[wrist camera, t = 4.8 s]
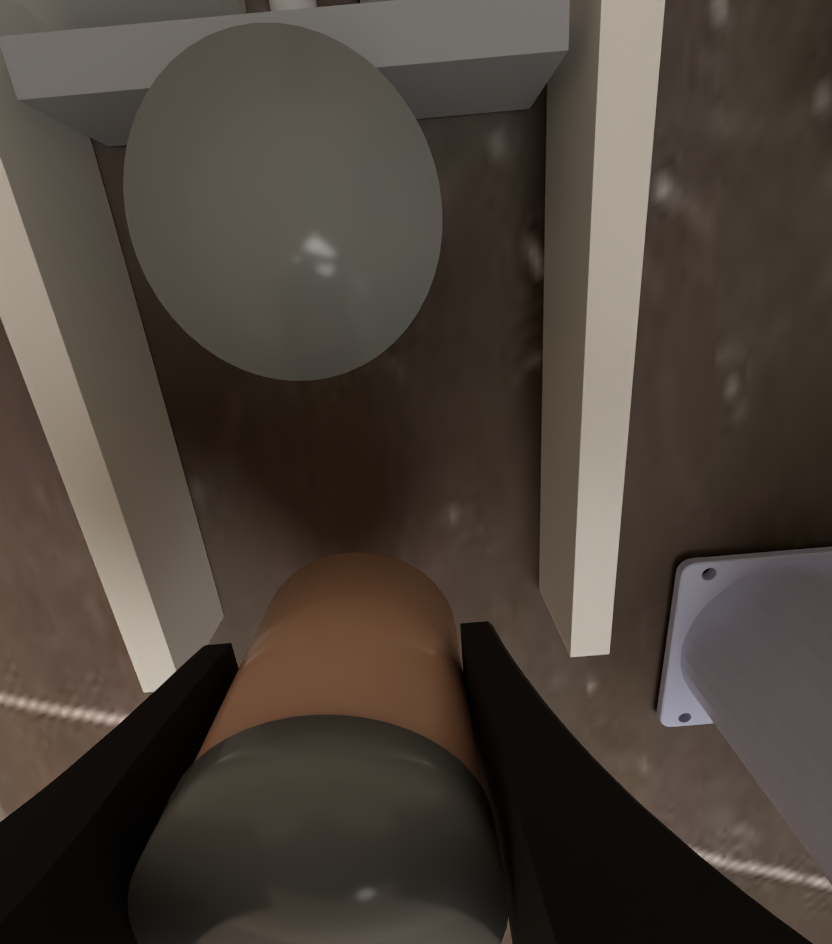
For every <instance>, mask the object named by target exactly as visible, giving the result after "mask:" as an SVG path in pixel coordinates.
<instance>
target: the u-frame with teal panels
mask: <svg viewBox="0 0 832 944" xmlns="http://www.w3.org/2000/svg"><path fill="white" fill-rule="evenodd" d="M380 1H391V0H360V3H369V2H380ZM664 8H665V0H570V12H569V47H568V52H567V53H566V55H565V56H564V58H563V59H562V61H561V62H560V64H559V65H558V67H557V68H556V70H555V71H554V73H553V74H552V76H551V77H550V79H549V80H548V82H547V116H546V179H545V242H544V305H543V368H542V431H541V494H540V557H539V591H540V593H541V595H542V597H543V600H544V602H545V604H546V606H547V608H548V610H549V612H550V615H551V617H552V619H553V621H554V623H555V625H556V628H557V630H558V632H559V634H560V636H561V638H562V640H563V643H564V645H565V647H566V649H567V651H568V653H569V656H570V657H580V656H592V655H604V654H609V652H610V641H611V629H612V617H613V605H614V594H615V582H616V570H617V559H618V547H619V535H620V523H621V512H622V500H623V488H624V477H625V465H626V453H627V441H628V430H629V418H630V406H631V394H632V383H633V371H634V359H635V348H636V336H637V324H638V312H639V301H640V289H641V277H642V266H643V254H644V242H645V230H646V219H647V207H648V195H649V184H650V172H651V160H652V148H653V137H654V125H655V113H656V102H657V90H658V78H659V66H660V55H661V43H662V31H663V20H664ZM237 14H247V12H246V6H245V0H0V36H6V35H17V34H28V33H39V32H50V31H61V30H72V29H83V28H94V27H105V26H116V25H127V24H138V23H149V22H160V21H171V20H182V19H193V18H204V17H215V16H226V15H237ZM0 317H1V320H2V323H3V325H4V328H5V331H6V333H7V336H8V338H9V341H10V344H11V346H12V349H13V351H14V354H15V357H16V359H17V362H18V365H19V367H20V370H21V372H22V375H23V378H24V380H25V383H26V386H27V388H28V391H29V393H30V396H31V399H32V401H33V404H34V406H35V409H36V412H37V414H38V417H39V420H40V422H41V425H42V427H43V430H44V433H45V435H46V438H47V440H48V443H49V446H50V448H51V451H52V454H53V456H54V459H55V461H56V464H57V467H58V469H59V472H60V475H61V477H62V480H63V482H64V485H65V488H66V490H67V493H68V495H69V498H70V501H71V503H72V506H73V509H74V511H75V514H76V516H77V519H78V522H79V524H80V527H81V530H82V532H83V535H84V537H85V540H86V543H87V545H88V548H89V550H90V553H91V556H92V558H93V561H94V564H95V566H96V569H97V571H98V574H99V577H100V579H101V582H102V584H103V587H104V590H105V592H106V595H107V598H108V600H109V603H110V605H111V608H112V611H113V613H114V616H115V619H116V621H117V624H118V626H119V629H120V632H121V634H122V637H123V639H124V642H125V645H126V647H127V650H128V653H129V655H130V658H131V660H132V663H133V666H134V668H135V671H136V674H137V676H138V679H139V681H140V684H141V687H142V689H143V692H144V693H145V692H154V691H156V690H157V689H158V688H159V687H160V686H161V685H162V684H163V683H164V682H165V681H166V680H167V679H168V678H169V677H170V676H171V675H172V674H174V673H175V672H176V671H177V670H178V669H179V668H180V667H181V666H182V665H183V664H184V663H185V662H186V661H187V660H188V659H190V658H191V657H192V656H193V655H194V654H195V653H196V652H197V651H198V650H200V649H201V648H202V647H203V646H204V645H208V643H209V642H210V640H211V638H212V636H213V635H214V633H215V631H216V629H217V627H218V626H219V624H220V622H221V620H222V619H223V617H224V614H223V611H222V607H221V604H220V600H219V597H218V593H217V589H216V586H215V582H214V579H213V575H212V571H211V568H210V564H209V561H208V557H207V554H206V550H205V546H204V543H203V539H202V536H201V532H200V529H199V525H198V521H197V518H196V514H195V511H194V507H193V503H192V500H191V496H190V493H189V489H188V486H187V482H186V478H185V475H184V471H183V468H182V464H181V461H180V457H179V453H178V450H177V446H176V443H175V439H174V435H173V432H172V428H171V425H170V421H169V418H168V414H167V410H166V407H165V403H164V400H163V396H162V392H161V389H160V385H159V382H158V378H157V375H156V371H155V367H154V364H153V360H152V357H151V353H150V350H149V346H148V342H147V339H146V335H145V332H144V328H143V324H142V321H141V317H140V314H139V310H138V307H137V303H136V299H135V296H134V292H133V289H132V285H131V281H130V278H129V274H128V271H127V267H126V264H125V260H124V256H123V253H122V249H121V246H120V242H119V239H118V235H117V231H116V228H115V224H114V221H113V217H112V213H111V210H110V206H109V203H108V199H107V196H106V192H105V188H104V185H103V181H102V178H101V174H100V170H99V167H98V163H97V160H96V156H95V153H94V149H93V145H92V142H91V138H90V137H88V136H86V135H84V134H83V133H81V132H79V131H77V130H75V129H73V128H71V127H69V126H67V125H65V124H63V123H61V122H59V121H57V120H55V119H53V118H51V117H50V116H48V115H46V114H44V113H42V112H40V111H38V110H36V109H34V108H32V107H30V106H28V105H26V104H24V103H22V102H20V101H18V100H17V97H16V94H15V91H14V88H13V85H12V81H11V78H10V75H9V72H8V69H7V66H6V63H5V59H4V56H3V53H2V50H1V47H0Z"/></svg>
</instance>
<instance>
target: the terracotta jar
mask: <svg viewBox="0 0 832 944" xmlns="http://www.w3.org/2000/svg"><path fill="white" fill-rule="evenodd" d="M127 901H128V916H129V920H130V924H131V928H132V932H133V934H134V936H135V938H136V940H137V943H138V944H501V942H502V939H503V936H504V933H505V930H506V927H507V921H508V914H509V903H508V892H507V886H506V881H505V875H504V870H503V864H502V859H501V853H500V848H499V842H498V837H497V831H496V826H495V820H494V816H493V812H492V808H491V805H490V802H489V800H488V798H487V796H486V794H485V791H484V789H483V787H482V782H481V776H480V770H479V764H478V758H477V752H476V746H475V740H474V734H473V728H472V722H471V716H470V710H469V704H468V698H467V692H466V687H465V681H464V675H463V669H462V663H461V657H460V651H459V645H458V639H457V633H456V627H455V622H454V618H453V614H452V611H451V608H450V606H449V603H448V601H447V600H446V598H445V596H444V595H443V593H442V592H441V590H440V589H439V588H438V587H437V586H436V584H435V583H434V582H433V581H432V580H431V579H429V578H428V577H427V576H426V575H425V574H424V573H422V572H421V571H419V570H418V569H417V568H415V567H413V566H411V565H409V564H407V563H406V562H403V561H401V560H398V559H395V558H393V557H389V556H385V555H381V554H375V553H368V552H350V553H340V554H335V555H331V556H327V557H324V558H321V559H318V560H316V561H313V562H311V563H309V564H308V565H306V566H304V567H302V568H301V569H299V570H298V571H296V572H295V573H293V574H292V575H291V576H290V577H289V578H288V579H287V580H286V581H285V582H284V583H283V584H282V585H281V587H280V588H279V589H278V590H277V592H276V593H275V595H274V597H273V598H272V600H271V602H270V604H269V606H268V608H267V611H266V613H265V615H264V617H263V619H262V621H261V623H260V625H259V627H258V629H257V632H256V634H255V636H254V638H253V640H252V642H251V644H250V646H249V648H248V650H247V653H246V655H245V657H244V659H243V661H242V663H241V665H240V667H239V669H238V671H237V674H236V676H235V678H234V680H233V682H232V684H231V686H230V688H229V690H228V692H227V695H226V697H225V699H224V701H223V703H222V705H221V707H220V709H219V711H218V713H217V716H216V718H215V720H214V722H213V724H212V726H211V728H210V730H209V732H208V734H207V736H206V739H205V741H204V743H203V745H202V747H201V749H200V751H199V753H198V755H197V757H196V760H195V762H194V763H193V764H192V765H191V766H190V767H189V769H188V770H187V771H186V772H185V773H184V774H183V775H182V777H181V779H180V780H179V782H178V784H177V785H176V787H175V788H174V790H173V792H172V794H171V796H170V798H169V800H168V802H167V804H166V806H165V808H164V810H163V812H162V814H161V816H160V818H159V820H158V823H157V825H156V827H155V829H154V831H153V833H152V835H151V837H150V839H149V841H148V843H147V845H146V847H145V849H144V851H143V853H142V855H141V857H140V859H139V861H138V863H137V865H136V868H135V870H134V873H133V876H132V878H131V881H130V885H129V892H128V898H127Z"/></svg>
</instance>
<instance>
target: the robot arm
mask: <svg viewBox="0 0 832 944" xmlns="http://www.w3.org/2000/svg"><path fill="white" fill-rule="evenodd" d="M708 568H709V570H708V571H707V572H706V573H704V574H702V573H703V571H705V570H706V569H708ZM460 625H461V642H462V660H463V675H464V681H465V687H466V692H467V698H468V704H469V710H470V716H471V722H472V728H473V734H474V740H475V746H476V752H477V758H478V764H479V770H480V776H481V782H482V787H483V789H484V791H485V794H486V796H487V798H488V800H489V802H490V805H491V808H492V812H493V816H494V820H495V826H496V831H497V837H498V842H499V848H500V853H501V859H502V864H503V870H504V875H505V881H506V886H507V892H508V903H509V914H508V917H509V923H510V930H511V936H512V942H513V944H812V943H811V942H810V941H808V940H807V939H806V938H804V937H803V936H802V935H800V934H799V933H798V932H796V931H795V930H793V929H792V928H791V927H789V926H788V925H787V924H785V923H784V922H783V921H781V920H780V919H779V918H777V917H776V916H775V915H773V914H772V913H771V912H769V911H768V910H767V909H765V908H764V907H763V906H761V905H760V904H759V903H758V902H756V901H755V900H754V899H752V898H751V897H750V896H748V895H747V894H746V893H745V892H743V891H742V890H741V889H740V888H738V887H737V886H736V885H735V884H733V883H732V882H731V881H730V880H729V879H727V878H726V877H725V876H724V875H722V874H721V873H720V872H719V871H717V870H716V869H715V868H714V867H713V866H711V865H710V864H709V863H708V862H706V861H705V860H704V859H703V858H701V857H700V856H699V855H698V854H697V853H696V852H694V851H693V850H692V849H691V848H690V847H689V846H688V845H686V844H685V843H684V842H683V841H682V840H681V839H680V838H678V837H677V836H676V835H675V834H674V833H673V832H672V831H671V830H669V829H668V828H667V827H666V826H665V825H664V824H663V823H661V822H660V821H659V820H658V819H657V818H656V817H655V816H653V815H652V814H651V813H650V812H649V811H648V810H647V809H645V808H644V807H643V806H642V805H641V804H640V803H639V802H638V801H637V800H636V799H635V798H634V797H633V796H632V795H631V794H630V793H628V792H627V791H626V790H625V789H624V788H623V787H622V786H621V785H620V784H619V783H618V782H617V781H616V780H615V779H614V778H613V777H612V776H611V775H610V774H609V773H608V772H607V771H606V770H605V769H604V768H603V767H602V766H601V765H600V764H599V763H598V762H597V761H596V760H595V759H594V758H593V757H592V756H591V754H590V753H589V752H588V751H587V750H586V749H585V748H584V747H583V746H582V745H581V744H580V743H579V741H578V740H577V739H576V738H575V737H574V736H573V735H572V734H571V733H570V731H569V730H568V729H567V728H566V727H565V725H564V724H563V723H562V722H561V721H560V720H559V718H558V717H557V716H556V715H555V714H554V713H553V711H552V710H551V709H550V708H549V706H548V705H547V704H546V703H545V701H544V700H543V699H542V698H541V696H540V695H539V694H538V692H537V691H536V690H535V688H534V687H533V686H532V685H531V683H530V682H529V681H528V679H527V678H526V677H525V675H524V674H523V673H522V671H521V670H520V668H519V667H518V665H517V664H516V663H515V661H514V660H513V658H512V657H511V655H510V654H509V652H508V651H507V649H506V648H505V646H504V644H503V643H502V641H501V639H500V638H499V636H498V634H497V633H496V631H495V629H494V627H493V625H492V624H490V623H489V622H488V621H486V622H474V623H463V624H460ZM237 671H238V665H237V662H236V658H235V655H234V651H233V648H232V644H231V643H226V644H215V645H204V646H203V647H202V648H201V649H200V650H198V651H197V652H196V653H195V654H194V655H193V656H192V657H191V658H190V659H188V660H187V661H186V662H185V663H184V664H183V665H182V666H181V667H180V668H179V669H178V670H177V671H176V672H175V673H174V674H172V675H171V676H170V677H169V678H168V679H167V680H166V681H165V682H164V683H163V684H162V685H161V686H160V687H159V688H158V689H157V690H156V691H154V692H153V693H152V694H151V695H150V696H149V697H148V698H147V699H146V700H145V701H144V702H143V703H142V704H140V705H139V706H138V707H137V708H136V709H135V710H134V711H133V712H132V713H131V714H130V715H129V716H128V717H126V718H125V719H124V720H123V721H122V722H121V723H120V724H119V725H118V726H117V727H115V728H114V729H113V730H112V731H111V732H110V733H108V734H107V735H106V736H105V737H104V738H103V739H102V740H100V741H99V742H98V743H97V744H96V745H95V746H94V747H92V748H91V749H90V750H89V751H88V752H87V753H85V754H84V755H83V756H82V757H81V758H80V759H79V760H77V761H76V762H75V763H74V764H73V765H72V766H71V767H69V768H68V769H67V770H66V771H65V772H63V773H62V774H61V775H60V776H59V777H57V778H56V779H55V780H54V781H52V782H51V783H50V784H49V785H47V786H46V787H45V788H44V789H42V790H41V791H40V792H39V793H38V794H36V795H35V796H34V797H32V798H31V799H30V800H29V801H27V802H26V803H25V804H23V805H22V806H21V807H19V808H18V809H17V810H16V811H14V812H13V813H12V814H10V815H9V816H8V817H6V818H5V819H4V820H3V821H1V822H0V944H138V943H137V940H136V938H135V936H134V934H133V932H132V928H131V924H130V920H129V916H128V901H127V898H128V892H129V885H130V881H131V878H132V876H133V873H134V870H135V868H136V865H137V863H138V861H139V859H140V857H141V855H142V853H143V851H144V849H145V847H146V845H147V843H148V841H149V839H150V837H151V835H152V833H153V831H154V829H155V827H156V825H157V823H158V820H159V818H160V816H161V814H162V812H163V810H164V808H165V806H166V804H167V802H168V800H169V798H170V796H171V794H172V792H173V790H174V788H175V787H176V785H177V784H178V782H179V780H180V779H181V777H182V775H183V774H184V773H185V772H186V771H187V770H188V769H189V767H190V766H191V765H192V764H193V763H194V762H195V760H196V757H197V755H198V753H199V751H200V749H201V747H202V745H203V743H204V741H205V739H206V736H207V734H208V732H209V730H210V728H211V726H212V724H213V722H214V720H215V718H216V716H217V713H218V711H219V709H220V707H221V705H222V703H223V701H224V699H225V697H226V695H227V692H228V690H229V688H230V686H231V684H232V682H233V680H234V678H235V676H236V674H237ZM657 717H658V719H659V720H660V722H661V723H662V724H663V725H664V726H667V727H675V726H688V725H700V724H712V723H714V724H715V726H716V727H717V728H718V730H719V731H720V732H721V734H722V735H723V737H724V738H725V739H726V741H727V742H728V743H729V745H730V746H731V747H732V749H733V750H734V752H735V753H736V754H737V756H738V757H739V758H740V760H741V761H742V763H743V764H744V765H745V767H746V768H747V769H748V771H749V772H750V773H751V775H752V776H753V778H754V779H755V780H756V782H757V783H758V784H759V786H760V787H761V789H762V790H763V791H764V793H765V794H766V795H767V797H768V798H769V800H770V801H771V802H772V804H773V805H774V806H775V808H776V809H777V810H778V812H779V813H780V815H781V816H782V817H783V819H784V820H785V821H786V823H787V824H788V826H789V827H790V828H791V830H792V831H793V832H794V834H795V835H796V836H797V838H798V839H799V841H800V842H801V843H802V845H803V846H804V847H805V849H806V850H807V852H808V853H809V854H810V856H811V857H812V858H813V860H814V861H815V862H816V864H817V865H818V867H819V868H820V869H821V871H822V872H823V873H824V875H825V876H826V878H827V879H828V880H829V882H830V883H831V884H832V547H820V548H808V549H796V550H784V551H772V552H760V553H749V554H737V555H725V556H713V557H701V558H691V559H687V560H685V561H683V562H681V564H680V565H679V566H678V568H677V570H676V576H675V583H674V591H673V598H672V605H671V612H670V619H669V627H668V634H667V641H666V648H665V655H664V662H663V670H662V677H661V684H660V691H659V698H658V706H657Z"/></svg>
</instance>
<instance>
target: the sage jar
mask: <svg viewBox="0 0 832 944" xmlns="http://www.w3.org/2000/svg"><path fill="white" fill-rule="evenodd" d="M123 194H124V205H125V215H126V219H127V224H128V229H129V234H130V238H131V241H132V244H133V247H134V250H135V253H136V256H137V259H138V261H139V264H140V266H141V268H142V270H143V272H144V274H145V277H146V279H147V281H148V283H149V284H150V286H151V288H152V289H153V291H154V293H155V294H156V296H157V298H158V299H159V301H160V302H161V303H162V305H163V306H164V307H165V309H166V310H167V311H168V313H169V314H170V315H171V317H172V318H173V319H174V320H175V321H176V322H177V323H178V324H179V325H180V326H181V328H182V329H183V330H184V331H185V332H186V333H187V334H188V335H190V336H191V337H192V338H193V339H194V340H195V341H197V342H198V343H199V344H200V345H201V346H202V347H204V348H205V349H207V350H208V351H210V352H211V353H213V354H214V355H216V356H217V357H219V358H220V359H222V360H224V361H226V362H228V363H230V364H232V365H234V366H236V367H237V368H240V369H243V370H245V371H248V372H251V373H253V374H256V375H260V376H264V377H269V378H273V379H280V380H289V381H312V380H318V379H325V378H331V377H334V376H337V375H341V374H344V373H347V372H349V371H352V370H354V369H356V368H358V367H360V366H363V365H365V364H366V363H368V362H369V361H371V360H373V359H374V358H376V357H377V356H379V355H380V354H381V353H383V352H384V351H385V350H386V349H387V348H389V347H390V346H391V345H392V344H393V343H394V342H395V341H396V340H397V339H398V338H399V337H400V336H401V335H402V334H403V332H404V331H405V330H406V329H407V328H408V326H409V325H410V323H411V322H412V321H413V319H414V318H415V316H416V315H417V313H418V312H419V310H420V308H421V306H422V304H423V302H424V300H425V298H426V297H427V294H428V292H429V289H430V286H431V284H432V281H433V278H434V276H435V272H436V268H437V264H438V259H439V255H440V248H441V239H442V201H441V192H440V185H439V180H438V176H437V172H436V167H435V163H434V160H433V157H432V154H431V151H430V149H429V146H428V143H427V140H426V138H425V136H424V134H423V132H422V130H421V128H420V126H419V124H418V122H417V120H416V118H415V116H414V114H413V113H412V111H411V110H410V108H409V107H408V105H407V104H406V102H405V100H404V99H403V97H402V96H401V95H400V93H399V92H398V91H397V90H396V89H395V87H394V86H393V85H392V84H391V83H390V82H389V80H388V79H387V78H386V77H385V76H384V75H383V74H382V73H381V72H380V71H379V70H378V69H377V68H375V67H374V66H373V65H372V64H371V63H370V62H369V61H368V60H367V59H365V58H364V57H363V56H361V55H360V54H358V53H357V52H355V51H354V50H352V49H351V48H350V47H348V46H347V45H345V44H343V43H341V42H339V41H337V40H335V39H333V38H331V37H329V36H327V35H325V34H323V33H320V32H317V31H313V30H310V29H307V28H304V27H301V26H295V25H289V24H283V23H249V24H244V25H238V26H233V27H229V28H226V29H223V30H221V31H218V32H215V33H212V34H210V35H208V36H206V37H204V38H202V39H201V40H199V41H197V42H195V43H194V44H192V45H190V46H189V47H187V48H186V49H185V50H184V51H183V52H181V53H180V54H179V55H178V56H177V57H175V58H174V59H173V60H172V61H171V62H170V63H169V64H168V65H167V66H166V67H165V69H164V70H163V71H162V72H161V73H160V74H159V75H158V77H157V78H156V79H155V81H154V82H153V84H152V85H151V87H150V88H149V90H148V92H147V93H146V95H145V96H144V98H143V100H142V102H141V105H140V107H139V109H138V111H137V114H136V116H135V118H134V121H133V124H132V128H131V131H130V135H129V138H128V142H127V148H126V154H125V161H124V174H123Z"/></svg>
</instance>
